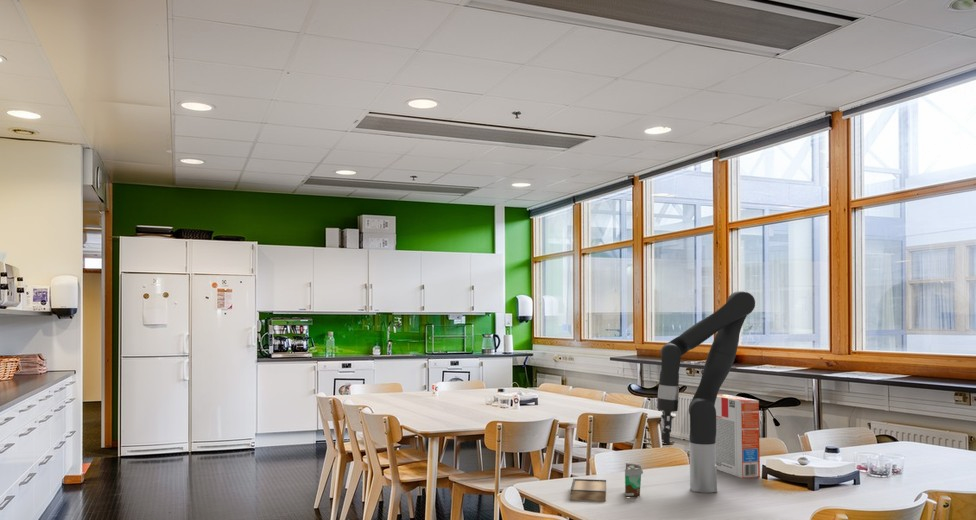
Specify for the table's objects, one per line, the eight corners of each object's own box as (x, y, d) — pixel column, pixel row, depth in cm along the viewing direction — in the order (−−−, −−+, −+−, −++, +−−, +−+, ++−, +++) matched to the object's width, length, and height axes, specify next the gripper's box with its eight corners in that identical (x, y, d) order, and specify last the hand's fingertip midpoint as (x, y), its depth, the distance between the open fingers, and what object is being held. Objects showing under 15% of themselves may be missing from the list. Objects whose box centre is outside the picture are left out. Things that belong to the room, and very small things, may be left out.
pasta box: (760, 476, 307) (758, 400, 309) (742, 478, 305) (741, 401, 307) (726, 465, 329) (725, 394, 331) (709, 466, 327) (708, 394, 329)
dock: (606, 489, 284) (606, 479, 285) (605, 501, 267) (605, 491, 267) (573, 488, 286) (573, 478, 287) (570, 499, 269) (570, 489, 269)
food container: (643, 499, 269) (642, 470, 270) (625, 498, 270) (625, 469, 271) (643, 491, 281) (643, 463, 282) (626, 490, 283) (625, 462, 283)
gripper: (680, 400, 280) (677, 446, 279) (676, 396, 294) (674, 439, 293) (658, 398, 281) (656, 443, 280) (656, 394, 295) (654, 437, 294)
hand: (665, 441), depth 287 cm, fingers open, 8 cm apart
